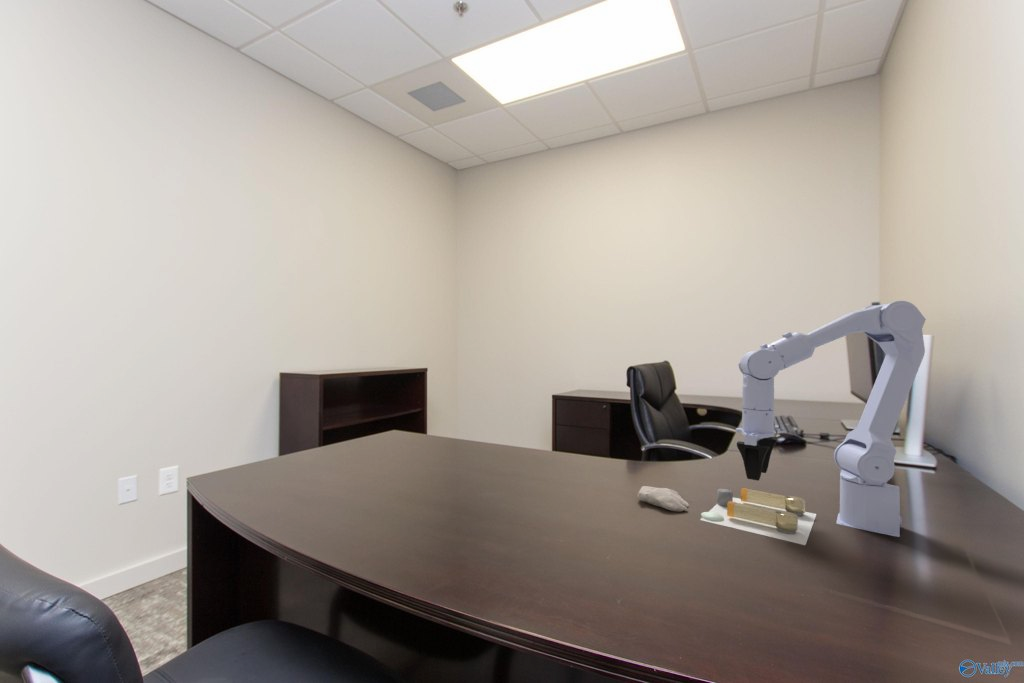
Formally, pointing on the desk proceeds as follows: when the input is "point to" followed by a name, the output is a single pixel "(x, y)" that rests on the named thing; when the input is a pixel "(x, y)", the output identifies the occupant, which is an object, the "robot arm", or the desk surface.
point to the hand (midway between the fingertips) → (757, 475)
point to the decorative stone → (662, 498)
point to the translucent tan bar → (763, 516)
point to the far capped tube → (774, 500)
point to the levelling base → (720, 517)
